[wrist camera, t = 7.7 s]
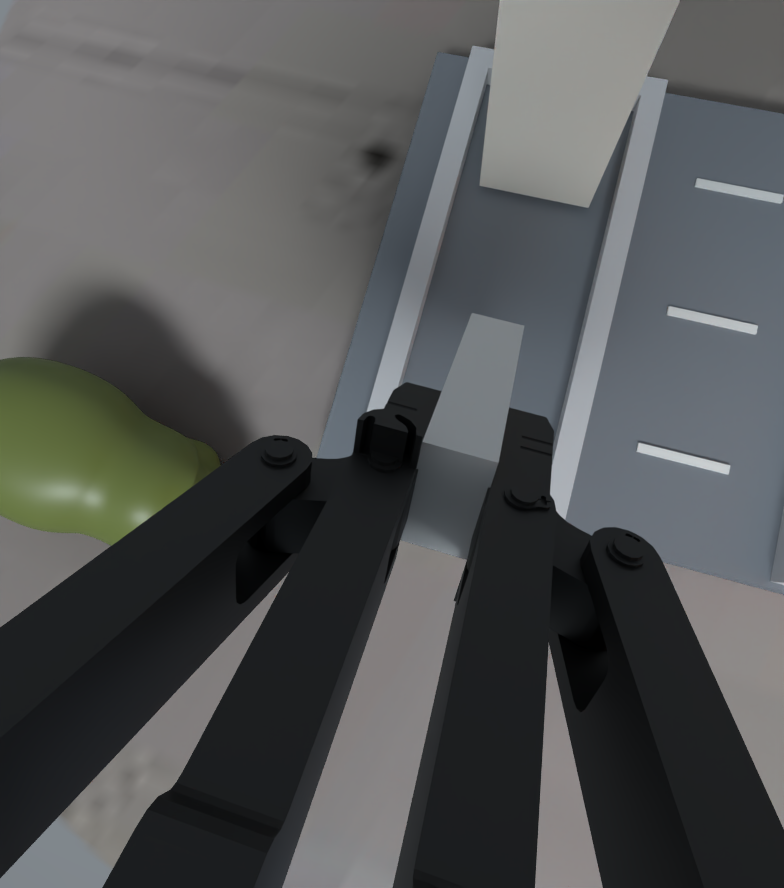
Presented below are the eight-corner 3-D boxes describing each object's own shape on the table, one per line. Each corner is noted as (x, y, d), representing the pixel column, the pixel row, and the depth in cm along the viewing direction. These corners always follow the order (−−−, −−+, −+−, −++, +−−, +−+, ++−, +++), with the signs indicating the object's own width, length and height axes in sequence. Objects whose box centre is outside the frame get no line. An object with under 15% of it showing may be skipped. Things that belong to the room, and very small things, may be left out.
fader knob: (612, 110, 22) (733, -195, 13) (588, 208, 21) (697, -40, 12) (505, 90, 22) (550, -217, 13) (479, 185, 22) (507, -69, 13)
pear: (-45, 308, 19) (248, 446, 19) (42, 351, 24) (269, 459, 24) (-141, 470, 18) (164, 611, 18) (-30, 478, 23) (205, 587, 23)
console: (1072, 198, 22) (1145, 158, 20) (1016, 658, 19) (1091, 672, 17) (437, 81, 25) (437, 34, 22) (322, 469, 22) (309, 460, 20)
